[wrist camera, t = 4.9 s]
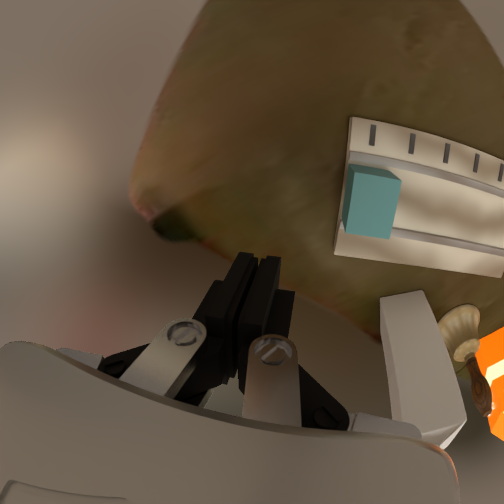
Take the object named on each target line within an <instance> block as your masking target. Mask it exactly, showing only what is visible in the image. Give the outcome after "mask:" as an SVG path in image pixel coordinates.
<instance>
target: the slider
mask: <svg viewBox="0 0 504 504" xmlns="http://www.w3.org/2000/svg"><path fill="white" fill-rule="evenodd" d="M401 182H402V180H400V179H399V178H398V177H397V176H395V175H394V174H393V173H392V172H391V171H389V170H384V169H378V168H373V167H367V166H361V165H355V164H349V165H348V173H347V181H346V188H345V195H344V202H343V209H342V215H341V217H342V221H343V226H344V230H345V233H348V234H355V235H362V236H369V237H376V238H383V239H389V238H390V234H391V230H392V226H393V222H394V217H395V213H396V208H397V203H398V198H399V193H400V188H401Z"/></svg>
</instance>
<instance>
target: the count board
mask: <svg viewBox="0 0 504 504" xmlns="http://www.w3.org/2000/svg"><path fill="white" fill-rule="evenodd" d="M349 164H355V165H361V166H367V167H373V168H378V169H384V170H389V171H391V172H392V173H393V174H394V175H395V176H397V177H398V178H399V179H400V180H402V182H401V188H400V193H399V198H398V203H397V208H396V213H395V217H394V222H393V226H392V230H391V234H390V238H389V239H383V238H376V237H369V236H362V235H355V234H348V233H345V230H344V226H343V221H342V217H341V215H342V209H343V202H344V195H345V188H346V181H347V173H348V165H349ZM333 248H334V255H341V256H349V257H356V258H364V259H371V260H378V261H386V262H393V263H400V264H408V265H415V266H422V267H429V268H436V269H443V270H450V271H457V272H464V273H471V274H478V275H485V276H491V277H498V278H501V276H502V274H503V271H504V161H503V160H501V159H499V158H496V157H494V156H491V155H489V154H487V153H484V152H482V151H479V150H476V149H474V148H471V147H468V146H466V145H463V144H460V143H457V142H454V141H451V140H448V139H445V138H442V137H438V136H435V135H432V134H428V133H425V132H421V131H417V130H413V129H410V128H406V127H401V126H397V125H393V124H388V123H384V122H379V121H374V120H368V119H363V118H357V117H350V120H349V133H348V144H347V154H346V163H345V171H344V180H343V187H342V195H341V202H340V208H339V215H338V221H337V227H336V233H335V239H334V245H333Z"/></svg>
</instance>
